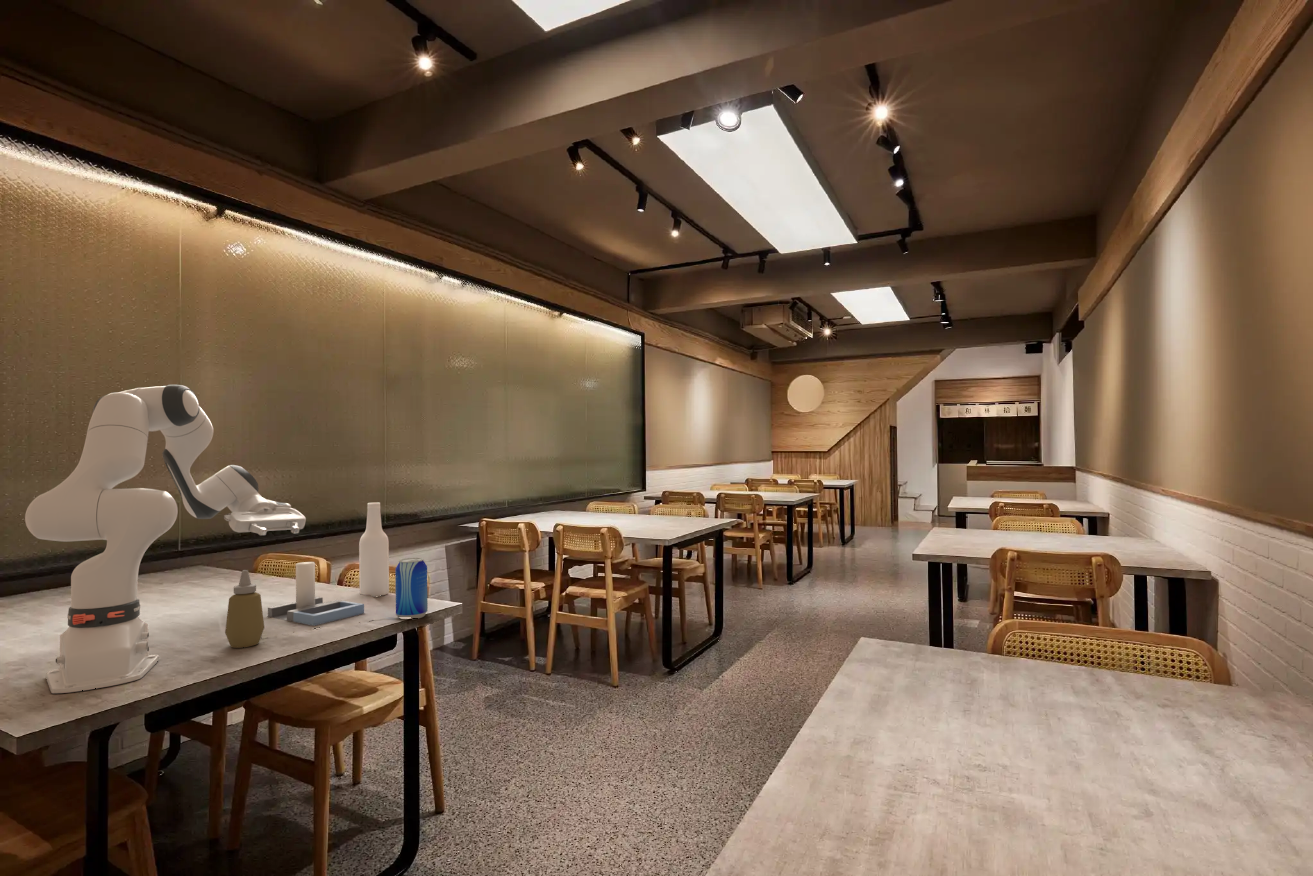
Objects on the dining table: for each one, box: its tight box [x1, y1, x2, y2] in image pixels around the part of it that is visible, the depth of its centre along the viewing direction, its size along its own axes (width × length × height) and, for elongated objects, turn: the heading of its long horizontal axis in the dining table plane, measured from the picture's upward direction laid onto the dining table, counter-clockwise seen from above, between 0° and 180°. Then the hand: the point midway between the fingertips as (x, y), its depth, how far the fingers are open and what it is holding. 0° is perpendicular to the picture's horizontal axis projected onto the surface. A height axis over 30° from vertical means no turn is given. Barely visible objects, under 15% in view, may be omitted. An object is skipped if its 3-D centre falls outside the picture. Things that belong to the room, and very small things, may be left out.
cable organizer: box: [266, 596, 366, 630], centre depth 185 cm, size 22×15×4 cm
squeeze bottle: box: [224, 569, 265, 649], centre depth 160 cm, size 8×8×18 cm
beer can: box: [394, 557, 429, 619], centre depth 185 cm, size 8×8×16 cm
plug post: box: [295, 561, 316, 609], centre depth 187 cm, size 5×5×14 cm
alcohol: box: [358, 501, 390, 598], centre depth 214 cm, size 9×9×30 cm
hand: (280, 531), depth 192 cm, fingers open, 8 cm apart
